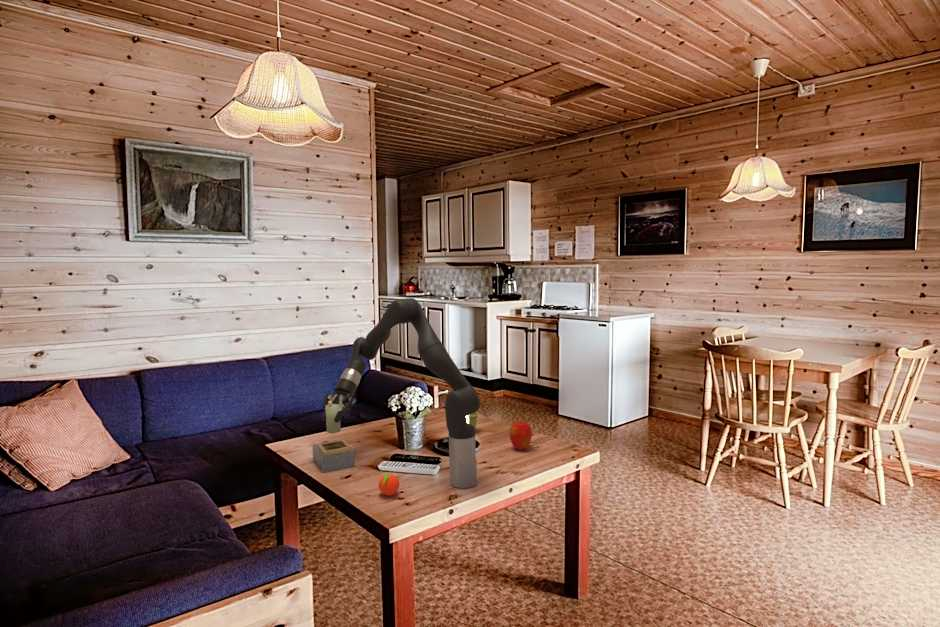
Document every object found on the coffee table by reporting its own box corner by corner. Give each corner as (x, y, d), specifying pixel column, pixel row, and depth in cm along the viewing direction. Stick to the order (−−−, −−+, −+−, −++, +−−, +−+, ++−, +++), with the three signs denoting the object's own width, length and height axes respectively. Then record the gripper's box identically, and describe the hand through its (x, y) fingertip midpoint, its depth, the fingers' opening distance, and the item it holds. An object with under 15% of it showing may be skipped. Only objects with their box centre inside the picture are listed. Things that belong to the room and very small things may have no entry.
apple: (508, 445, 237) (508, 417, 235) (530, 444, 237) (530, 416, 235) (510, 453, 227) (510, 424, 226) (533, 452, 227) (532, 423, 226)
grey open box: (354, 466, 216) (354, 447, 216) (323, 472, 211) (322, 453, 210) (342, 453, 230) (342, 435, 230) (313, 459, 225) (312, 440, 224)
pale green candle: (332, 428, 221) (331, 398, 220) (343, 429, 219) (342, 399, 217) (323, 432, 217) (322, 401, 215) (334, 434, 214) (333, 402, 213)
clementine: (393, 501, 186) (392, 480, 185) (374, 499, 187) (373, 478, 187) (402, 491, 193) (402, 471, 192) (384, 489, 195) (383, 469, 194)
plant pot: (464, 428, 261) (464, 409, 260) (482, 431, 256) (482, 412, 255) (453, 433, 253) (453, 414, 252) (471, 437, 248) (471, 417, 247)
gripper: (329, 375, 225) (309, 413, 216) (358, 379, 219) (340, 417, 210) (338, 386, 231) (320, 423, 221) (367, 389, 224) (349, 427, 215)
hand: (329, 420), depth 215 cm, fingers closed on pale green candle, 5 cm apart
